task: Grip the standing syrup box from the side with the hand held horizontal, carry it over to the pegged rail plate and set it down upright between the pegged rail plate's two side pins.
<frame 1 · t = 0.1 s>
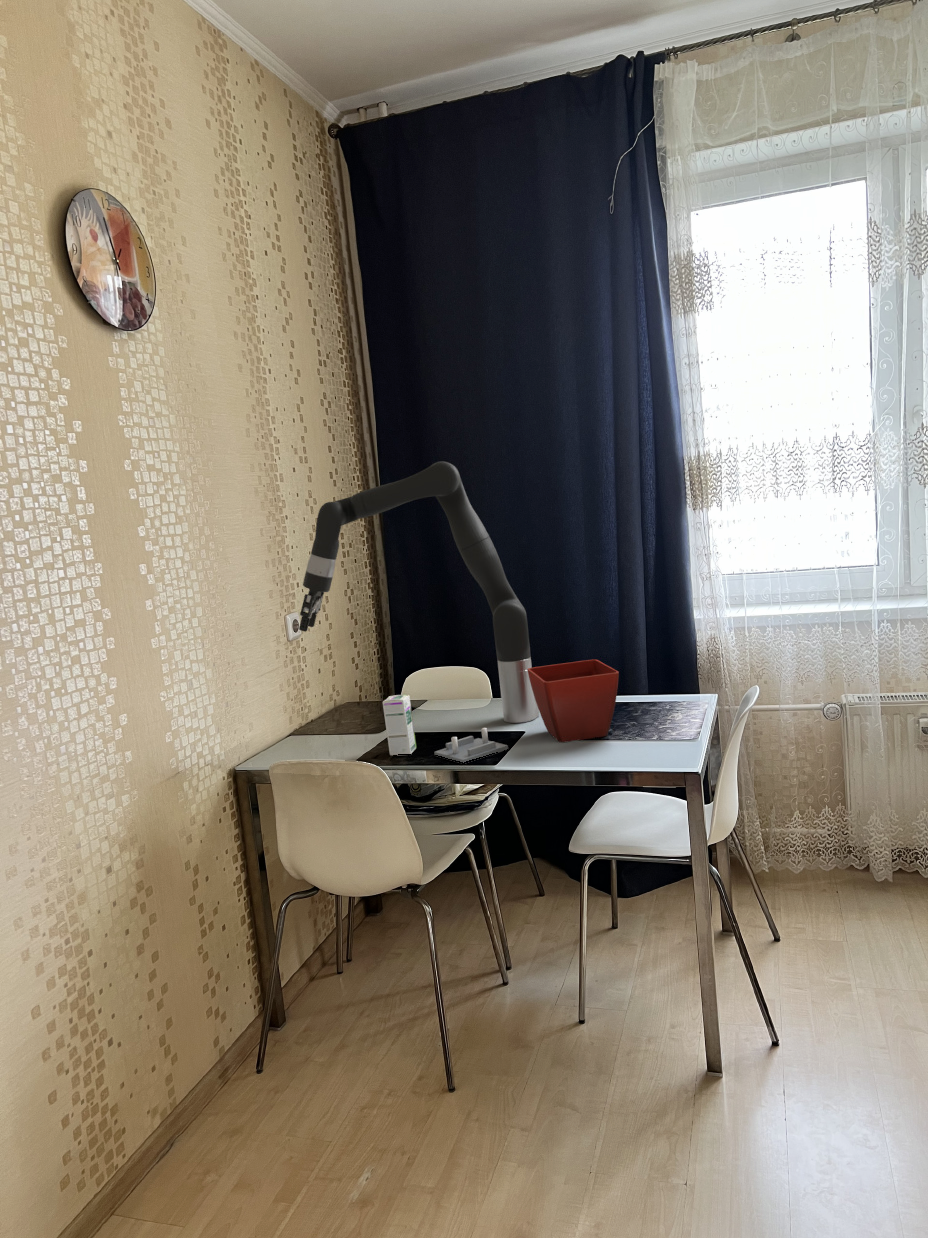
hand: (306, 628, 253), 31 cm above the table, tool tilted 20°, fingers open, 8 cm apart
pegged rail plate: (471, 752, 226), on the table
syrup box: (403, 753, 233), on the table
plant pot: (577, 734, 232), on the table
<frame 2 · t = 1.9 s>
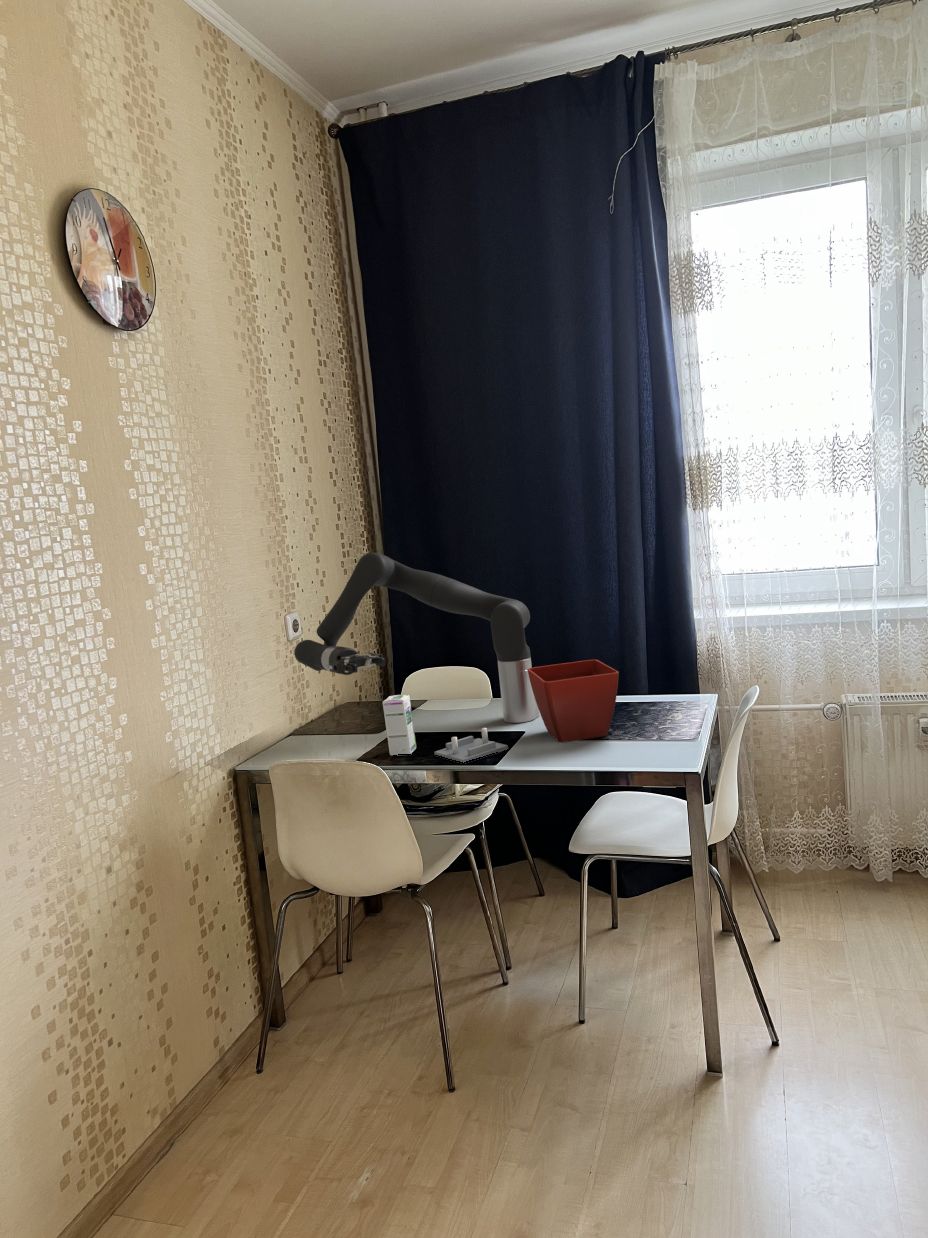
hand: (370, 665, 239), 22 cm above the table, tool horizontal, fingers open, 8 cm apart
nothing on the table moved.
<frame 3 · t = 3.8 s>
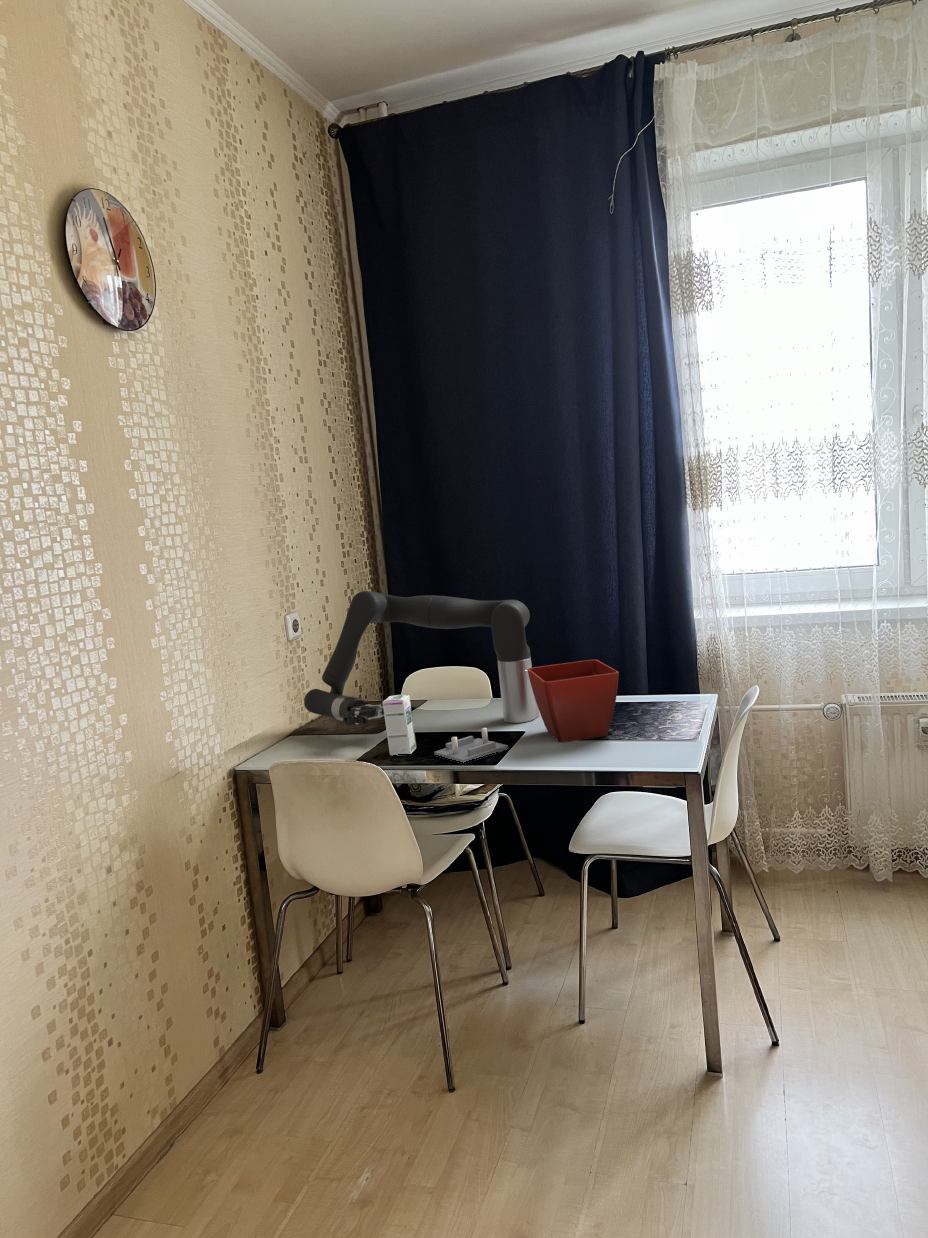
hand: (380, 717, 239), 8 cm above the table, tool horizontal, fingers open, 8 cm apart
nothing on the table moved.
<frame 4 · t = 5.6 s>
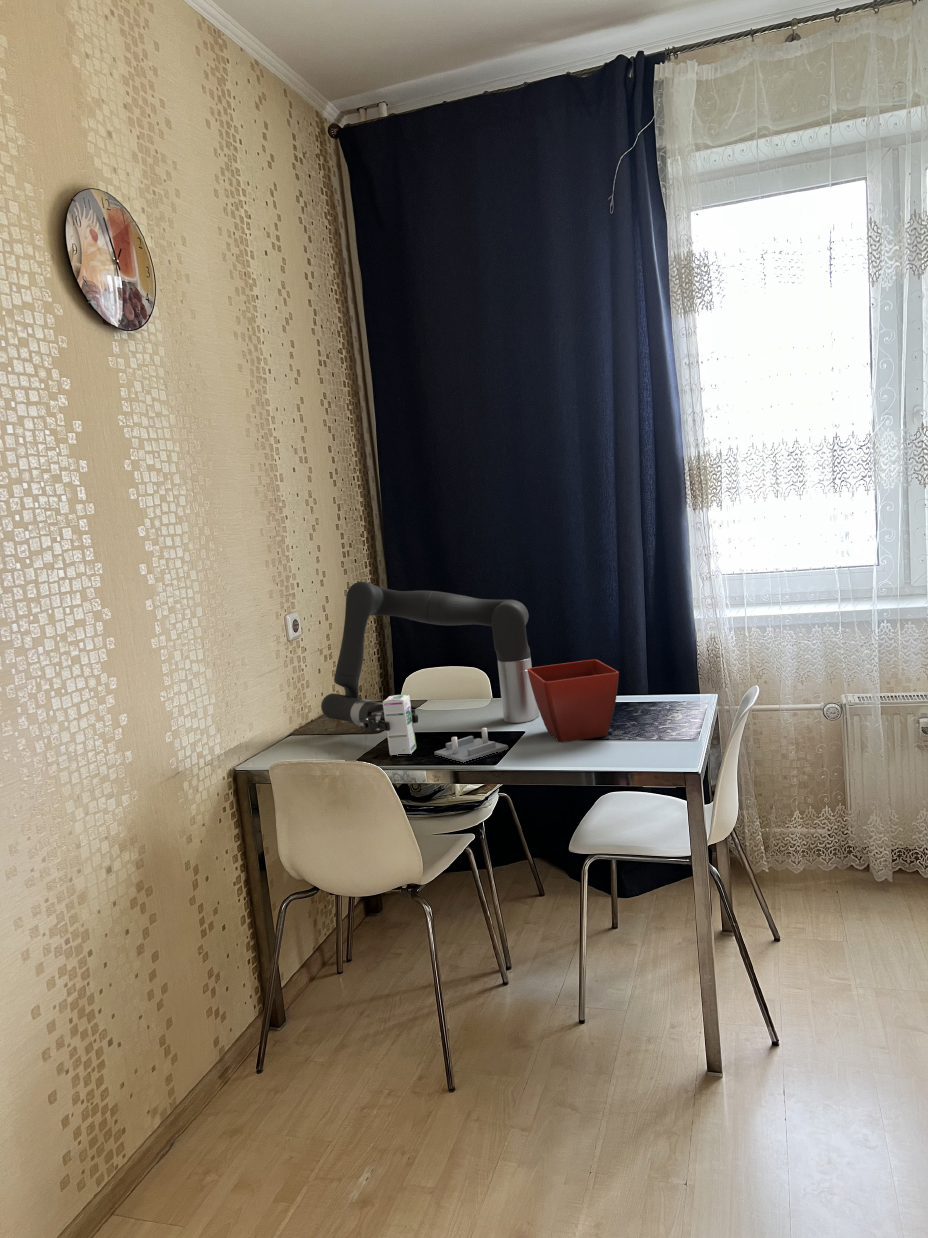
hand: (402, 722, 230), 8 cm above the table, tool horizontal, fingers open, 8 cm apart
nothing on the table moved.
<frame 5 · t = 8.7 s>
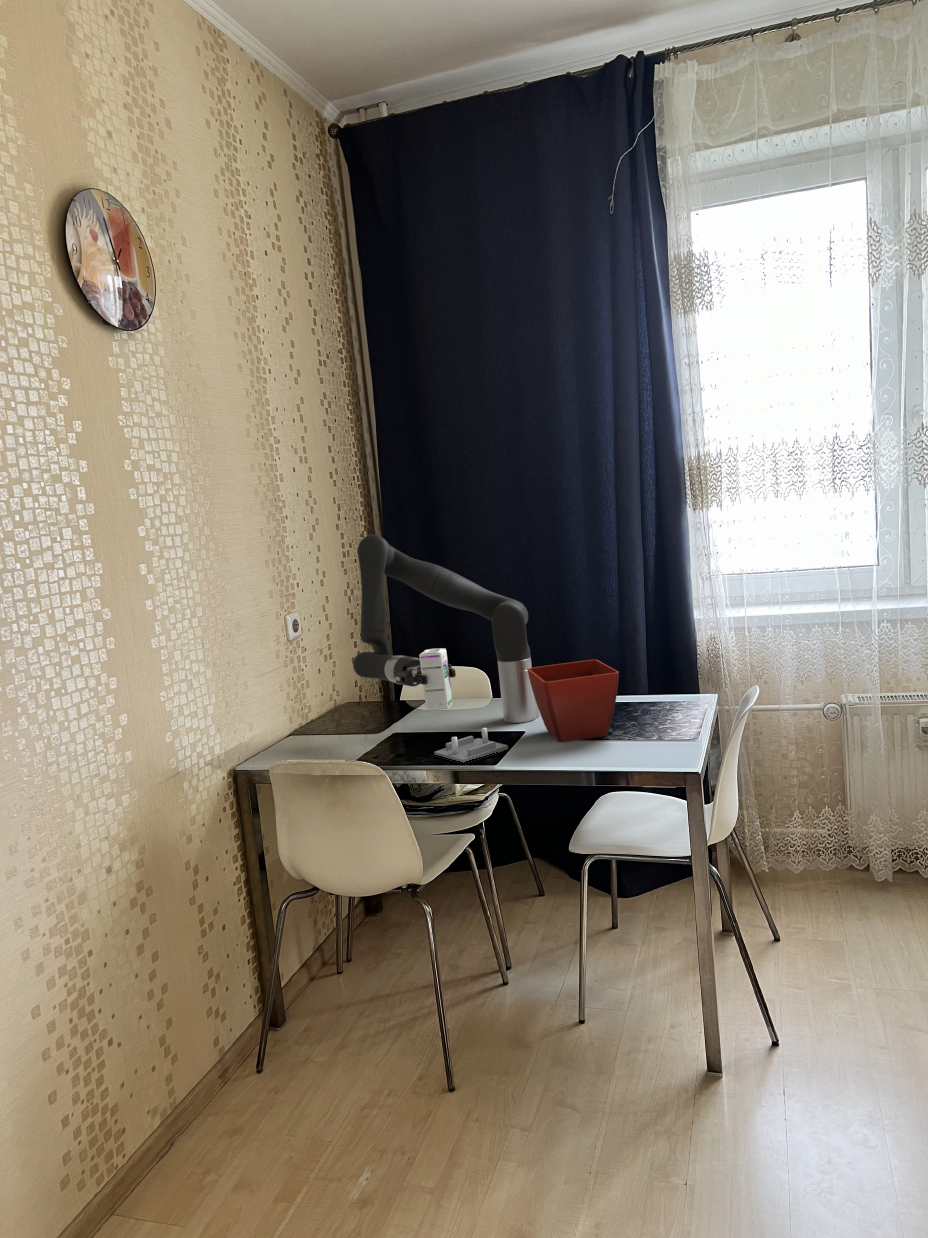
hand: (440, 676, 224), 20 cm above the table, tool horizontal, fingers closed on syrup box, 8 cm apart
syrup box: (439, 708, 227), point 11 cm above the table, touching gripper
everything else where it was.
when the fingers open (10 cm above the table, at t = 11.7 s): syrup box drops 1 cm, resting on pegged rail plate.
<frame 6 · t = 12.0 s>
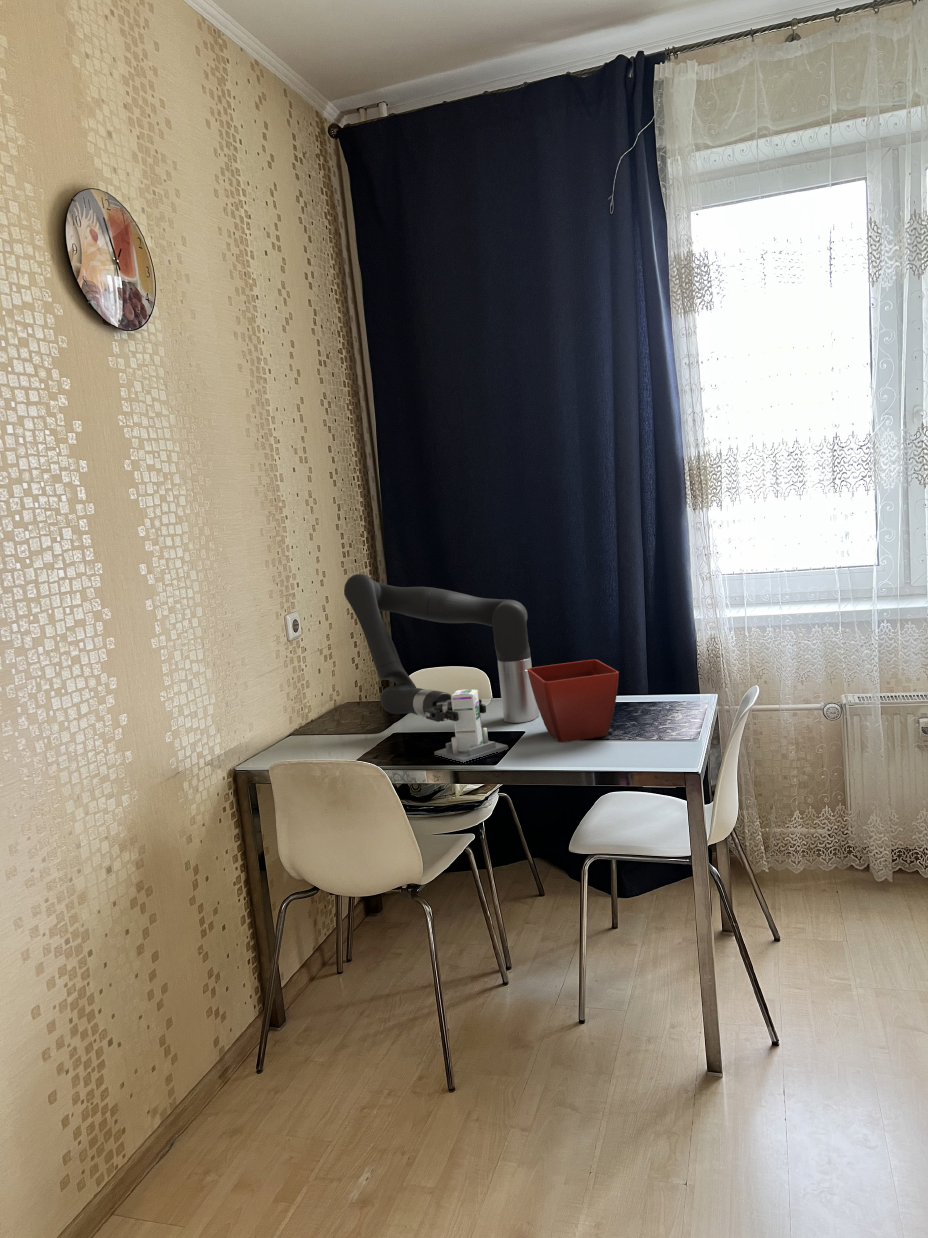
hand: (471, 713, 223), 10 cm above the table, tool horizontal, fingers open, 8 cm apart
syrup box: (470, 749, 226), point 1 cm above the table, touching gripper, pegged rail plate
everything else where it was.
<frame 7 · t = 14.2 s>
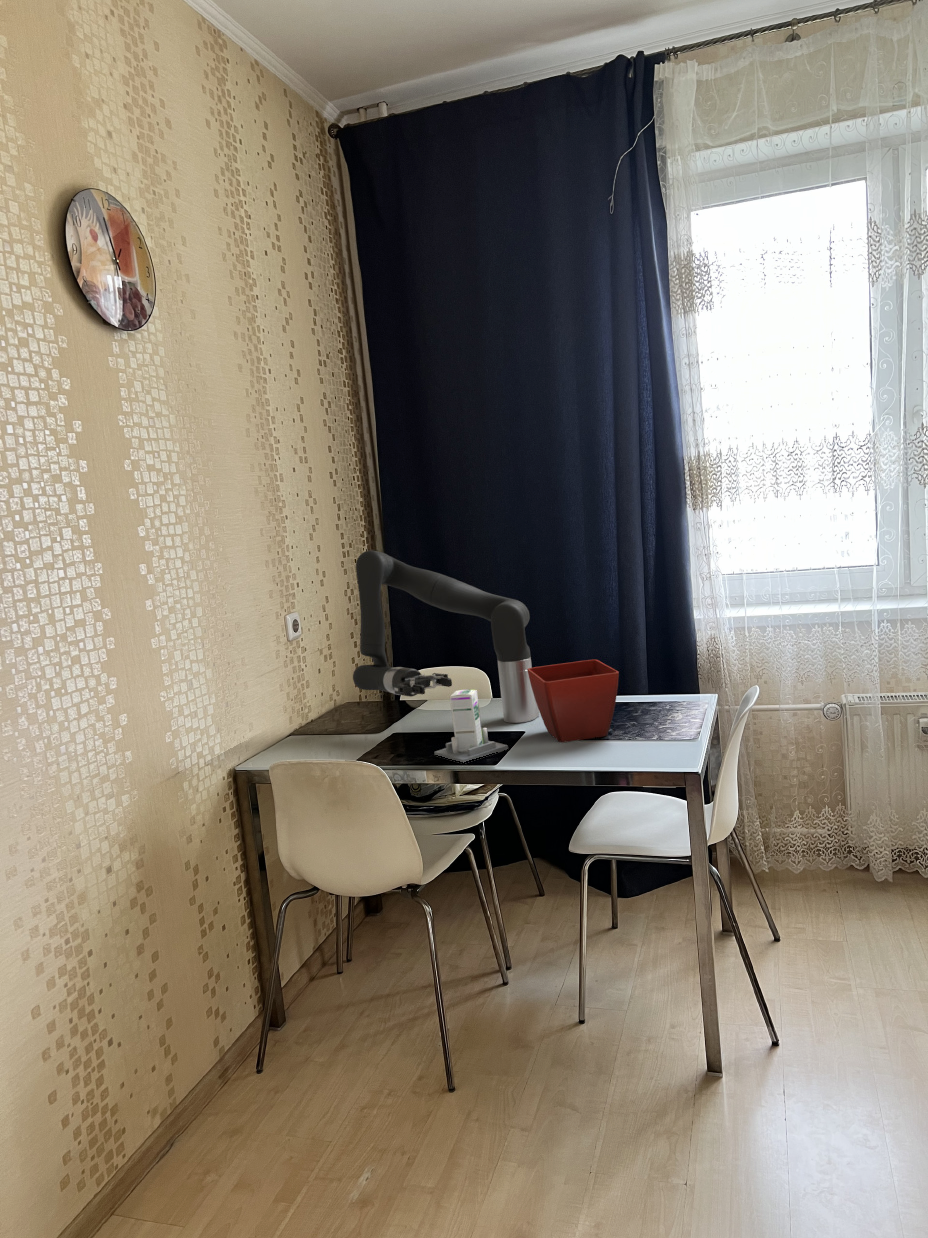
hand: (437, 686, 234), 16 cm above the table, tool horizontal, fingers open, 8 cm apart
syrup box: (470, 749, 226), point 1 cm above the table, touching pegged rail plate
everything else where it was.
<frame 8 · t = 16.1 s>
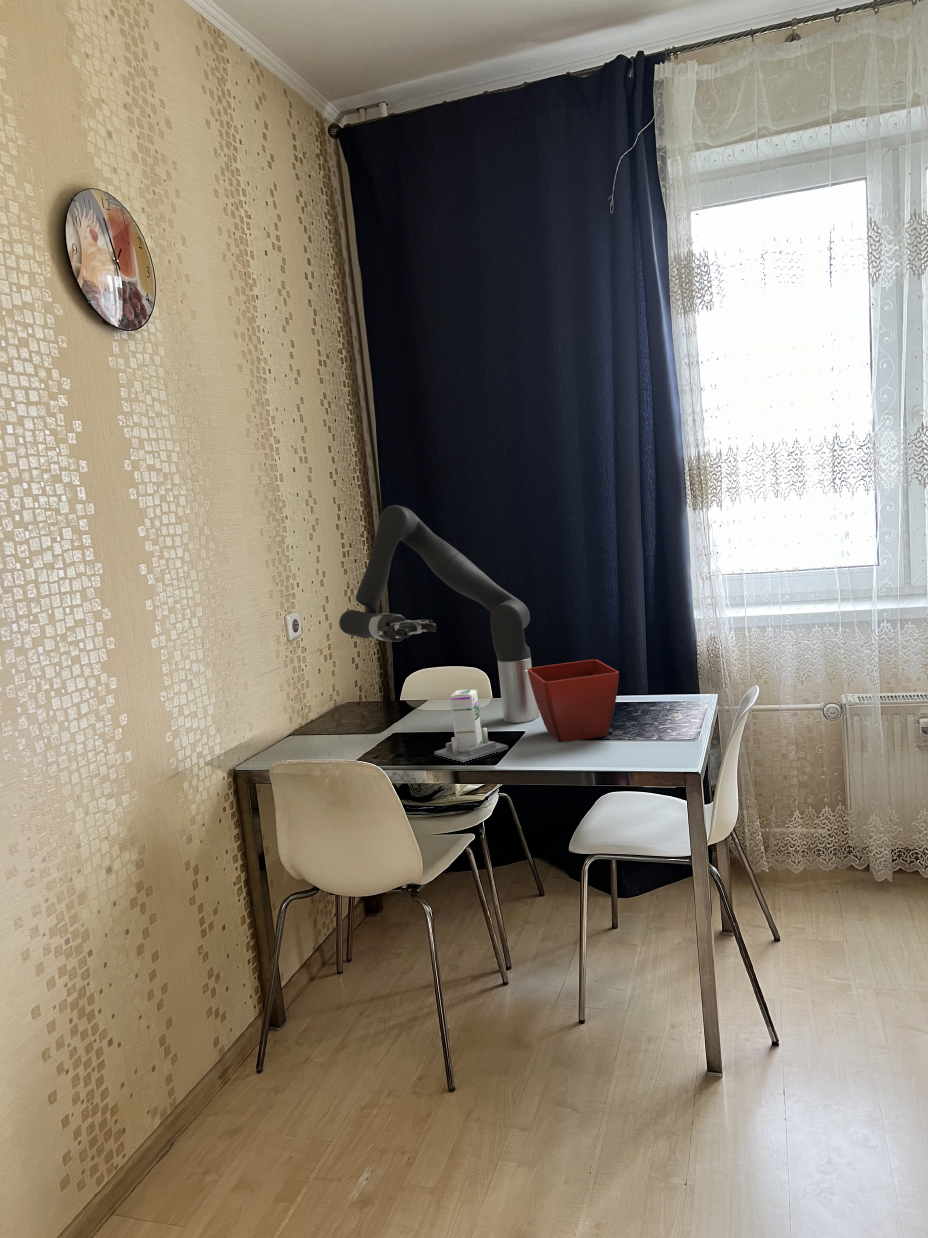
hand: (421, 630, 235), 30 cm above the table, tool horizontal, fingers open, 8 cm apart
nothing on the table moved.
at the end: syrup box 0.3 cm off-centre on the pegged rail plate, point 0.8 cm above the pegged rail plate's base; syrup box tilted 0°; the gripper is holding nothing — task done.
